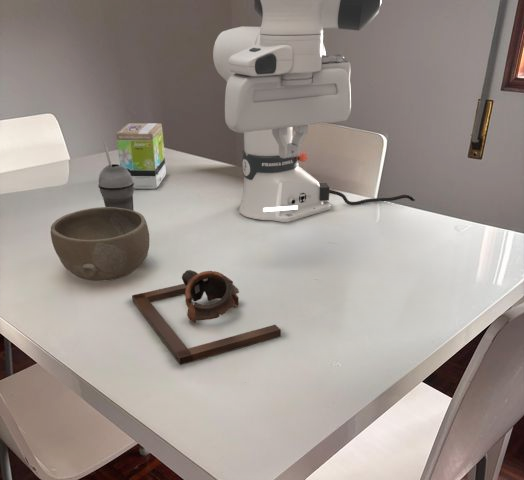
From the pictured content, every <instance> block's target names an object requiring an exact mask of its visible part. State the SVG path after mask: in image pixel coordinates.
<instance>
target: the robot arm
mask: <svg viewBox="0 0 524 480" xmlns="http://www.w3.org/2000/svg"><path fill="white" fill-rule="evenodd" d="M253 2H254V4H253V5H254V6H253V7H254V8H253V9H254V11H255V12H256V13H257V14H258V16H260V17H261V19H262V20H261V25H260V26H245V25H244V26H243V25H242V26H237V27H233V28H229V29H226V30H223V31H221V32H220V33H219V34H218V36H217V38H216V39H215V42H214V45H213V49H212V56H213V57H212V59H213V64H214V67H215V69H216V71H217V73H218V75H219V76H220V77H221V78H223V80H225V82H226V85H225V94H224V95H225V96H224V119H225V120H224V122H225V124H226V125H227V127H228V129H229V130H231V131H232V132H235V133H238V134H243V148H244V149H243V150H242V175H243V186H242V187H243V189H242V196H241V201H240V205H239V209H238V212H239V214H240V215H242V216H244V217H246V218H249V219H254V220H262V221H276V222H282V223H290V222H293V221H296V220H300V219H302V218H307V217H309V216H312V215H316V214H320V213H323V212H326V211H330V210H331V204H330V202H329V201H330V194H331V195H336V196H339V197H340V198H341V199H343V201H344V203H345V204H346V205H350V206H357V205H363V204H366V203H367V204H368V203H377V202H391V201H392V202H393V201H398V200H403V199H409V201H412V202H415V201H416V199H415V198H414V197H413V196H412V195H409V194H401V195H400V194H399V195H397V196H392V197H376V198H375V197H374V198H365V199H362V200H357V201H351V200H349V199H348V197H347V196H346V194H344V193H342V192H339V191H337V190H333V189H332V190H331V189H330V186H329V184H328V183H327V182H319V181H318V180H317V179H316V178H315V177H314V176H312V175H311V174H310V173H309V172H307V171H306V170H305V169H304V168H302V167H301V166H300V164H299V162H301V163H305V162H306V161H307V160H308V155H307V153H306V152H303V151H301V147H302V146H301V145H302V144H303V142H304V141H305V139H306V136H307V135H308V131H309V130H308V129H309V126H312V125H321V124H329V123H337V122H346V121H347V119H349V116H350V114H351V111H352V110H351V109H352V93H351V81H350V79H351V63H350V61H349V60H348V59H347V58H346V57H345V56H344V55H343V54H340V53H336V54H331V55H330V54H327V53H326V48H325V43H324V42H323V41H324V29H337V28H338V29H339V30H348V31H360V30H362V29H363V28H365V27H367V25H368V24H370V23H371V22H372V20H374V19H375V18H376V16H377V15H378V14H379V12H380V8H381V4H382V0H254V1H253ZM293 132H295V133H294V134H293Z"/></svg>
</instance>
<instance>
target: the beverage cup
mask: <svg viewBox="0 0 524 480" xmlns="http://www.w3.org/2000/svg"><path fill="white" fill-rule="evenodd" d="M102 143H103V146H104V150H105V151H104V152H105V154H106V158H107V159H106V160H107V163H108V165H106V166H105V167H104V168H103V169H102V170H101V171H100V173H99V176H98V188H99V193H100V195H101V197H102V199H103V203H104V207H117V208H124V209H130V210H133V211H135V210H134V190H135V189H134V187H133V185H134V183H133V180H132V177H131V174H130V173H129V171H128V170H127V169H126V168H124V167H123V166H121V165H120V164H118V163H116V164H115V163H113V164H112V161H111V156H110V153H109V150H108V145H107V142H106V141H103V142H102Z"/></svg>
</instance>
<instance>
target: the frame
mask: <svg viewBox="0 0 524 480" xmlns="http://www.w3.org/2000/svg"><path fill="white" fill-rule="evenodd" d="M205 280H206V281H207V280H208V278H207V279H203V281H205ZM185 290H186V285H185V284H184V283H181V284H177V285H172V286H168V287H163V288H158V289H155V290H150V291H145V292H141V293H137V294H133V295H131V300H132V302H133V304H134V306H135V307H136V308H137V309H138V311H139V312H140V313H141V315H142V316H143V317H144V318H145V320H146V321H147V323H148V324H149V325H150V327H151V328H152V329H153V330H154V332H155V333H156V335H157V336H158V337H159V339H160V341H162V343H163V344H164V345H165V347H166V348H167V349H168V351H169V352H170V353H171V355H172V356H173V357H174V358H175V359H174V360H176V361H177V362H178V364H179V365H180V366H181V365H184V364H188V363H191V362H195V361H198V360H202V359H206V358H209V357H212V356H216V355H220V354H223V353H226V352H230V351H232V350H234V351H235V350H237V349H240V348H244V347H248V346H251V345H254V344H258V343H262V342H264V341H269V340H271V339H275V338H278V337H281V333H282V330H281V328H280V327H279V326H277V325H276V324H271V325H268V326H265V327H261V328H257V329H254V330H250V331H247V332H243V333H238V334H236V335H232V336H228V337H224V338H221V339H218V340H213V341H211V342H207V343H203V344H199V345H196V346H193V347H187V345H186V344H185V343H184V342H183V341H182V340H181V338H180V337H179V336H178V334H177V333H176V332H175V331H174V330H173V328H172V327H171V326H170V325H169V323H168V322H167V321H166V319H165V318H164V317H163V316H162V314H161V313H160V312H159V311H158V310H157V308H156V307H155V306H154V305H153V303H152V302H157V301H161V300H165V299H170V298H175V297H179V296H183V295H185Z"/></svg>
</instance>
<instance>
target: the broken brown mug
mask: <svg viewBox="0 0 524 480" xmlns="http://www.w3.org/2000/svg"><path fill="white" fill-rule="evenodd" d="M207 278H208V280H207V281H206V280H205V281H203V279H207ZM181 280H182V282H183V284H185V285H186V290H185V294H184V296H185V299H184V300H185V305H186V307H187V311H186V316H187V318H188V320H189V321H190V322H192V323H193V324H195V323H196V322H200V321H210V320H213V319H218V318H219V317H220V316H223V315H224V314H226V313H227V312H228V311H229V310H231V309H234V308H237V307H238V305H239V300H240V299H239V295H237V294H239V293H240V291H239V288H238V287H236V285H235V284H234V281H233V280H232V279H231V278H229V277H227V276H226V275H224V274H223V273H221V272H219V271H217V270H215V271H213V270H205V271H202V272H199V273H198V272H197V271H194V270H191V269H188V270H185V272H183V273H182V276H181ZM204 293H205V296H206V299H207V302H211V301H214V300H217V301H215V302H213V303H209V304H204V303H199V302H197V301H199V300H201V299H202V298H203V295H204ZM218 299H219V300H218Z"/></svg>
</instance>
